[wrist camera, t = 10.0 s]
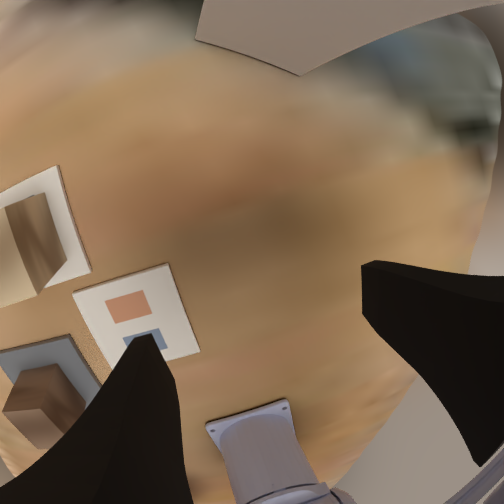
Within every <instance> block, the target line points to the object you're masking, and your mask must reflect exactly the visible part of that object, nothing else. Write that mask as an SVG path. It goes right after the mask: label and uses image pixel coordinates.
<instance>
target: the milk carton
mask: <svg viewBox="0 0 504 504" xmlns="http://www.w3.org/2000/svg"><path fill="white" fill-rule="evenodd" d="M499 3H504V0H204V3H203V6H202V10H201V14H200V19H199V23H198V27H197V31H196V36H195V39H196V40H199V41H202V42H206V43H210V44H213V45H217V46H220V47H223V48H227V49H230V50H233V51H236V52H239V53H242V54H245V55H248V56H251V57H254V58H256V59H259V60H262V61H264V62H267V63H270V64H272V65H275V66H277V67H280V68H282V69H285V70H287V71H289V72H292V73H294V74H296V75H299V76H302V75H304V74H306V73H307V72H309V71H311V70H313V69H315V68H317V67H319V66H321V65H323V64H325V63H327V62H329V61H331V60H333V59H335V58H337V57H339V56H341V55H343V54H345V53H347V52H350V51H352V50H354V49H356V48H358V47H361V46H363V45H365V44H368V43H370V42H372V41H375V40H377V39H380V38H382V37H385V36H387V35H390V34H392V33H395V32H397V31H400V30H403V29H406V28H408V27H411V26H414V25H417V24H420V23H423V22H426V21H429V20H432V19H436V18H439V17H442V16H446V15H450V14H453V13H457V12H461V11H465V10H469V9H474V8H478V7H482V6H488V5H493V4H499Z"/></svg>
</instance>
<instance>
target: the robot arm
mask: <svg viewBox="0 0 504 504" xmlns="http://www.w3.org/2000/svg"><path fill="white" fill-rule="evenodd" d="M361 275H362V314H363V315H364V317H365V318H366V319H367V321H368V322H369V324H370V325H371V326H372V327H373V329H374V330H375V331H376V332H377V334H378V335H379V336H380V337H381V338H382V339H384V340H385V341H386V342H387V343H388V344H389V345H390V346H391V347H392V348H393V349H394V350H395V351H396V352H397V353H398V354H399V355H400V356H401V357H402V358H403V359H404V360H405V361H406V362H407V363H408V364H410V365H411V366H412V367H413V368H414V369H415V370H416V371H417V372H418V373H419V375H420V376H421V377H422V378H423V379H424V380H425V382H426V383H427V384H428V385H429V387H430V388H431V389H432V390H433V392H434V393H435V394H436V395H437V397H438V398H439V400H440V401H441V403H442V404H443V406H444V407H445V409H446V410H447V411H448V413H449V415H450V416H451V418H452V419H453V421H454V423H455V425H456V426H457V428H458V429H459V431H460V433H461V435H462V437H463V439H464V441H465V443H466V445H467V447H468V449H469V451H470V453H471V456H472V458H473V461H474V462H475V463H476V464H477V465H478V466H479V467H481V466H482V465H483V464H484V463H486V462H487V461H488V459H490V457H491V456H492V455H493V454H494V453H495V452H496V451H497V450H498V449H499V448H500V447H501V446H502V445H503V443H504V276H478V275H466V274H458V273H451V272H444V271H438V270H432V269H427V268H422V267H416V266H411V265H406V264H401V263H395V262H388V261H379V260H374V261H372V262H369V263H366V264H364V265H361ZM205 427H206V430H207V432H208V433H209V435H210V436H211V438H212V440H213V441H214V443H215V444H216V446H217V447H218V449H219V450H220V452H221V453H222V455H223V458H224V462H225V466H226V469H227V473H228V476H229V480H230V484H231V487H232V490H233V494H234V497H235V501H236V504H356V502H355V501H354V499H353V498H352V497H351V496H350V495H349V494H348V493H347V492H345V491H343V490H340V489H338V488H332V489H330V490H329V488H328V486H327V484H326V483H325V482H322V483H319V481H318V479H317V478H316V476H315V474H314V472H313V470H312V468H311V466H310V464H309V462H308V460H307V458H306V456H305V454H304V452H303V450H302V448H301V446H300V444H299V442H298V440H297V438H296V434H295V430H294V425H293V420H292V415H291V411H290V406H289V402H288V401H287V400H286V399H283V400H280V401H277V402H274V403H272V404H269V405H266V406H263V407H260V408H257V409H254V410H251V411H247V412H244V413H241V414H238V415H234V416H231V417H227V418H224V419H220V420H216V421H213V422H209V423H207V424H206V425H205ZM503 476H504V448H503V449H502V451H501V452H500V453H499V454H498V455H497V456H496V457H495V458H494V459H493V460H492V461H491V462H490V463H489V464H488V465H487V466H486V467H485V468H484V469H483V470H482V471H481V472H480V473H479V474H478V475H477V476H476V477H475V478H474V479H472V480H471V481H470V482H469V483H468V484H467V485H466V486H465V487H463V488H462V489H461V490H460V491H459V492H457V493H456V494H455V495H454V496H453V497H451V498H450V499H449V500H448V501H446V502H445V503H444V504H476V503H477V502H478V501H479V500H480V499H481V498H482V497H483V496H484V495H485V494H486V493H487V492H488V491H489V490H490V489H491V488H492V487H493V486H494V485H495V484H496V483H497V482H498V481H499V480H500V479H501V478H502V477H503ZM0 504H194V503H193V500H192V496H191V492H190V488H189V484H188V480H187V476H186V471H185V465H184V456H183V445H182V433H181V420H180V406H179V400H178V394H177V389H176V384H175V379H174V377H173V375H172V373H171V371H170V369H169V367H168V366H167V364H166V362H165V360H164V358H163V356H162V354H161V352H160V350H159V348H158V346H157V343H156V341H155V339H154V337H153V335H152V333H149V334H146V335H142V336H138V337H134V338H133V340H132V341H131V342H130V344H129V345H128V347H127V348H126V350H125V351H124V353H123V355H122V356H121V358H120V359H119V361H118V362H117V364H116V366H115V367H114V369H113V370H112V372H111V373H110V375H109V377H108V378H107V380H106V381H105V383H104V384H103V385H102V387H101V388H100V390H99V391H98V393H97V394H96V395H95V397H94V398H93V400H92V401H91V403H90V404H89V405H88V407H87V408H86V409H85V411H84V412H83V413H82V415H81V416H80V417H79V418H78V419H77V421H76V422H75V423H74V424H73V425H72V427H71V428H70V429H69V430H68V431H67V432H66V433H65V434H64V435H63V436H62V437H61V438H60V439H59V440H58V441H57V442H56V443H55V444H54V445H53V446H52V447H51V448H50V449H49V450H48V451H47V452H46V453H45V454H44V455H43V456H42V457H41V458H40V459H39V460H37V461H36V462H35V463H34V464H33V465H31V466H30V467H29V468H28V469H26V470H25V471H24V472H23V473H21V474H20V475H18V476H17V477H16V478H14V479H13V480H11V481H10V482H8V483H6V484H5V485H3V486H2V487H0ZM483 504H504V481H503V482H502V483H501V484H500V485H499V486H498V487H497V488H496V489H495V490H494V491H493V492H492V493H491V494H490V495H489V496H488V498H487V499H486V500H485V501H484V502H483Z"/></svg>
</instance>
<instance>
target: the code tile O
mask: <svg viewBox="0 0 504 504" xmlns="http://www.w3.org/2000/svg"><path fill="white" fill-rule="evenodd" d="M44 192H45V195H46V198H47V202H48V205H49V208H50V212H51V215H52V218H53V221H54V224H55V227H56V230H57V233H58V236H59V239H60V242H61V244H62V247H63V250H64V252H65V255H66V258H67V261H66V262H65V263H64V265H63V266H62V267H61V268H60V269H59V270H58V271H57V273H56V274H55V275H54V276H53V277H52V278H51V280H50V281H49V282H48V283H47V284H46V286H45V287H44V288H46V287H49V286H52V285H55V284H58V283H61V282H64V281H67V280H70V279H73V278H76V277H79V276H82V275H85V274H88V273H91V272H92V268H91V266H90V263H89V261H88V258H87V256H86V253H85V250H84V248H83V245H82V242H81V239H80V236H79V233H78V231H77V228H76V225H75V222H74V218H73V215H72V212H71V209H70V206H69V202H68V199H67V195H66V192H65V188H64V185H63V181H62V177H61V173H60V169H59V165H56V166H54V167H51V168H49V169H47V170H45V171H43V172H41V173H38V174H36V175H34V176H32V177H30V178H28V179H26V180H24V181H22V182H20V183H18V184H16V185H15V186H13V187H11V188H9V189H7V190H5V191H4V192H2V193H0V209H1V208H3V207H5V206H8V205H10V204H13V203H16V202H18V201H21V200H24V199H26V198H29V197H32V196H35V195H38V194H41V193H44Z"/></svg>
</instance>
